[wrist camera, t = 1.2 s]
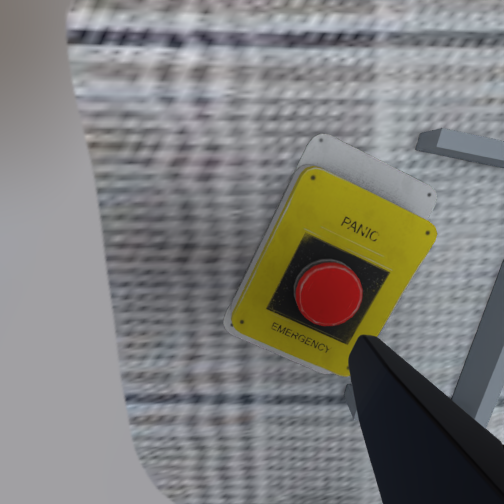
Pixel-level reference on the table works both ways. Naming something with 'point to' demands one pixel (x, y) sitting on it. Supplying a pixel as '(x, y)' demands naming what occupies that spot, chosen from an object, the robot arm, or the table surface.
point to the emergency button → (333, 257)
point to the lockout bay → (500, 302)
